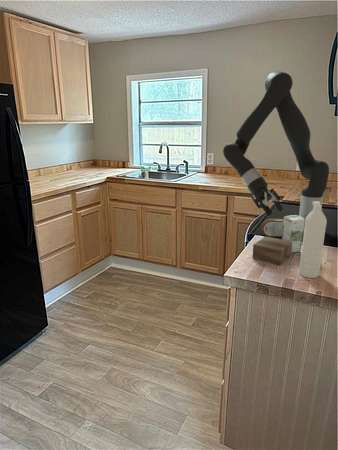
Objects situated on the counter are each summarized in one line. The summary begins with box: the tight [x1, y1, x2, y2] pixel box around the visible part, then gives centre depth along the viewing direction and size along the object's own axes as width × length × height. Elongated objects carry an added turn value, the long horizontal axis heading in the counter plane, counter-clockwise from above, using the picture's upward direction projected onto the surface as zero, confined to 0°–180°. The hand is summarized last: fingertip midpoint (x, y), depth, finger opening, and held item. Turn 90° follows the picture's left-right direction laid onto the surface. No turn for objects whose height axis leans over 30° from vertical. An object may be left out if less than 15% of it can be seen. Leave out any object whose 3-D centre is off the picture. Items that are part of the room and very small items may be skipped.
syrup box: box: [280, 214, 305, 254], centre depth 131 cm, size 6×6×14 cm
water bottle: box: [298, 201, 328, 279], centre depth 111 cm, size 9×6×25 cm
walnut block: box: [252, 235, 292, 266], centre depth 127 cm, size 11×11×6 cm
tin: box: [260, 217, 284, 238], centre depth 147 cm, size 15×3×8 cm, turn 84°
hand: (276, 212), depth 134 cm, fingers open, 8 cm apart
